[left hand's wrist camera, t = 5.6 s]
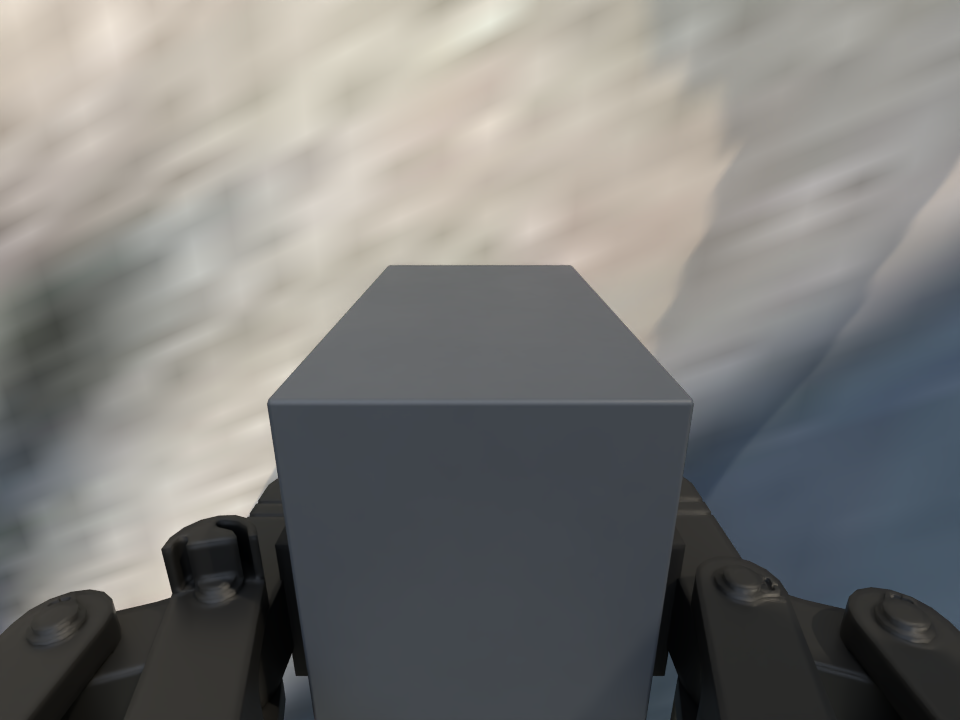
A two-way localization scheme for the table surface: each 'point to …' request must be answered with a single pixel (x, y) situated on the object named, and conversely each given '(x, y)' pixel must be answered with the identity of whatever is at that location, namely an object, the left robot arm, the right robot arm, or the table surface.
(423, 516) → the post
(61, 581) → the table surface
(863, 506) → the table surface
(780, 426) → the table surface
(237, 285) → the table surface
